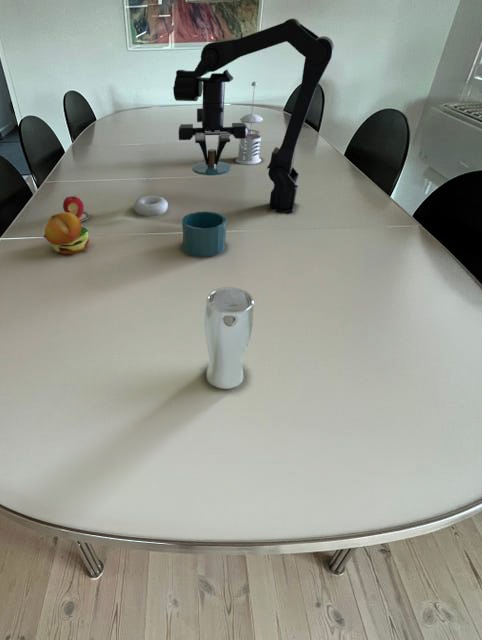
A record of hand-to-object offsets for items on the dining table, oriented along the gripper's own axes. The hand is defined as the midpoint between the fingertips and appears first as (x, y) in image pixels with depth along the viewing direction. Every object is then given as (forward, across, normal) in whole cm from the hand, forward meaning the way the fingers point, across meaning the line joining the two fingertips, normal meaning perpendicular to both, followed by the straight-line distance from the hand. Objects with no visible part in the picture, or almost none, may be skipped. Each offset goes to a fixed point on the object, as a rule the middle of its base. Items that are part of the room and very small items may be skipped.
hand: (211, 164), depth 118 cm
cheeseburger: (+11, +37, +31) cm, 49 cm away
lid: (+1, 0, 0) cm, 1 cm away
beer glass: (+11, 0, +78) cm, 78 cm away
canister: (+10, +3, +31) cm, 33 cm away
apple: (+11, +39, +12) cm, 42 cm away
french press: (+11, -15, -40) cm, 44 cm away
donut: (+11, +18, +8) cm, 22 cm away
